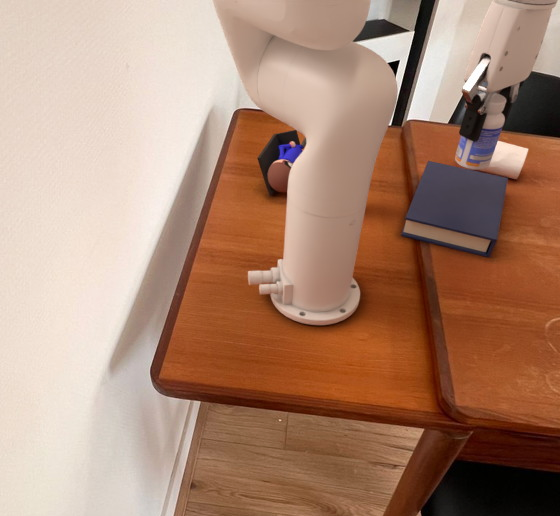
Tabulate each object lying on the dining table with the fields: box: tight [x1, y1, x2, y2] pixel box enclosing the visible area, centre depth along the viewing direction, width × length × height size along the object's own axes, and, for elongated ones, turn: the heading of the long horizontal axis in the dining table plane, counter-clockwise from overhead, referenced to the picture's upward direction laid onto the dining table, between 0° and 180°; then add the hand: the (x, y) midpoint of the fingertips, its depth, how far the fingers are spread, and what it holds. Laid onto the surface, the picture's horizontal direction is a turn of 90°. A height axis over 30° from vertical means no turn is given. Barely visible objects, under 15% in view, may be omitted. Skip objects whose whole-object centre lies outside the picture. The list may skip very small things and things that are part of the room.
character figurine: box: [257, 129, 306, 197], centre depth 92 cm, size 8×7×15 cm
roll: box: [479, 140, 529, 180], centre depth 98 cm, size 6×12×6 cm, turn 67°
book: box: [400, 160, 509, 258], centre depth 89 cm, size 20×14×3 cm
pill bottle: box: [454, 92, 506, 171], centre depth 79 cm, size 5×5×10 cm
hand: (481, 131), depth 79 cm, fingers closed on pill bottle, 5 cm apart
